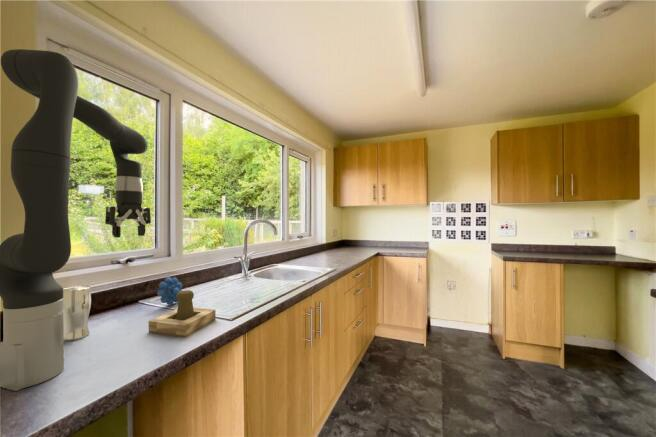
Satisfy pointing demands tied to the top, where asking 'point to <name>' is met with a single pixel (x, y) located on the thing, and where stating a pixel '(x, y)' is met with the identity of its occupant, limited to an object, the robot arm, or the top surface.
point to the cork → (185, 305)
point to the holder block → (181, 323)
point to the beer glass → (76, 312)
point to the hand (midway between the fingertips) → (129, 236)
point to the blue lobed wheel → (169, 290)
